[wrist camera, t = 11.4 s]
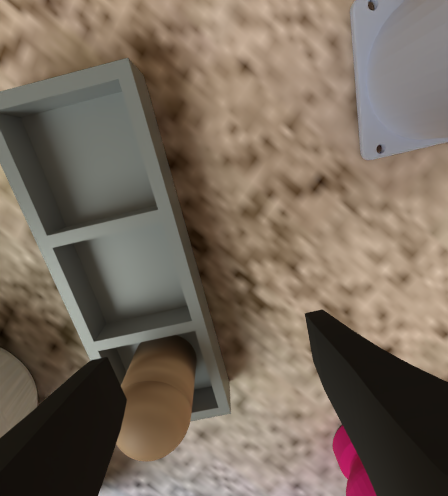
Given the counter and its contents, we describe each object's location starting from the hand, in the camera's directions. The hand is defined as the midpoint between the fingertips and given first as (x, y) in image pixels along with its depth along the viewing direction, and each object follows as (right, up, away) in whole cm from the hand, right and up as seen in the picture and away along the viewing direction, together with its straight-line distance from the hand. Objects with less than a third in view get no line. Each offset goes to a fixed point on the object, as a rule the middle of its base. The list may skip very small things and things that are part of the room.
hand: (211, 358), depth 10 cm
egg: (-4, -4, +10) cm, 12 cm away
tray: (-5, +3, +9) cm, 11 cm away
